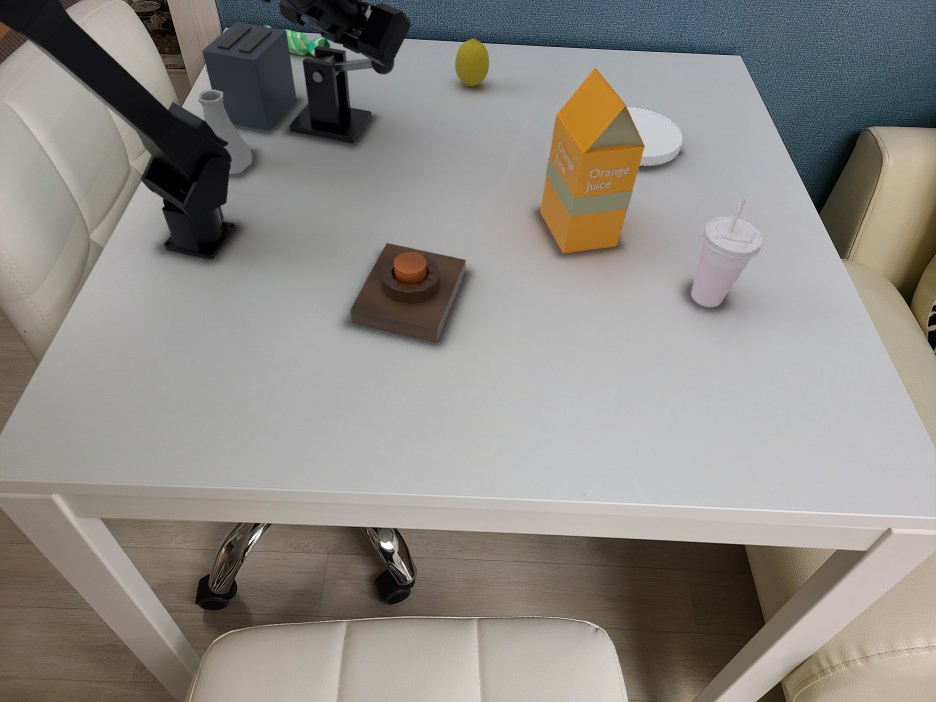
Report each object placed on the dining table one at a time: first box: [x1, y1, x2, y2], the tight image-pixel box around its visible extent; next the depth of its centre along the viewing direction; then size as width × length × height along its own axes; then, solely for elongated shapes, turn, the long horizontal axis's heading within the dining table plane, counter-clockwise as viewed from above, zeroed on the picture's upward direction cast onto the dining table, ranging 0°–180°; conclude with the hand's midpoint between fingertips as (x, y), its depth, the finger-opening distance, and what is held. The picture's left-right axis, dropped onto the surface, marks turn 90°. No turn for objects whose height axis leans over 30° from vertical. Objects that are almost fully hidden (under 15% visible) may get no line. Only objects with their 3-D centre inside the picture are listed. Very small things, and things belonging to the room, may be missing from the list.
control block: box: [350, 242, 467, 343], centre depth 77 cm, size 12×10×4 cm
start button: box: [394, 252, 426, 285], centre depth 75 cm, size 4×4×2 cm
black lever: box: [314, 56, 395, 76], centre depth 94 cm, size 12×3×3 cm, turn 75°
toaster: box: [201, 21, 297, 132], centre depth 100 cm, size 10×8×11 cm
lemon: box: [454, 38, 490, 88], centre depth 110 cm, size 6×6×8 cm
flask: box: [197, 89, 253, 175], centre depth 91 cm, size 7×7×10 cm
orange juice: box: [539, 67, 645, 254], centre depth 81 cm, size 8×9×20 cm
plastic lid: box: [626, 106, 684, 167], centre depth 102 cm, size 14×14×2 cm
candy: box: [263, 23, 331, 58], centre depth 116 cm, size 12×3×4 cm
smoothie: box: [690, 196, 764, 308], centre depth 76 cm, size 6×6×14 cm
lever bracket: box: [289, 46, 373, 144], centre depth 98 cm, size 10×8×11 cm
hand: (378, 48), depth 91 cm, fingers closed
